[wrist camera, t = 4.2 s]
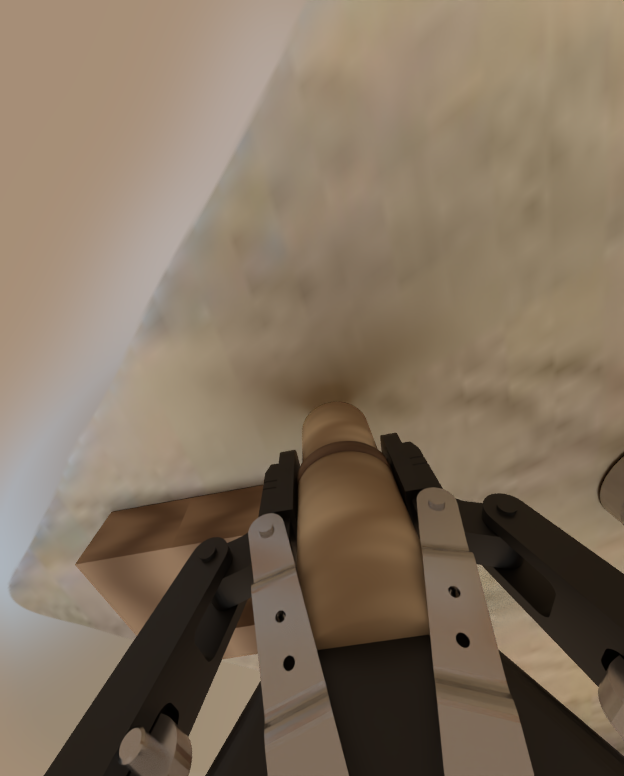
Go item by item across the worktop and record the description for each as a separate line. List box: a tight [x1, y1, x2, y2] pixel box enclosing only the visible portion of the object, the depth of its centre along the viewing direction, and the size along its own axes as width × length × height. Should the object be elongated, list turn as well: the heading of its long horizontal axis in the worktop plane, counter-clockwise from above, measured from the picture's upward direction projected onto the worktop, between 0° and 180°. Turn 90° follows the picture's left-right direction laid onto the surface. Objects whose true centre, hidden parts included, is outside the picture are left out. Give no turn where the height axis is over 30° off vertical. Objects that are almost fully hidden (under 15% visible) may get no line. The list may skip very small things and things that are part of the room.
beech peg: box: [297, 402, 429, 650], centre depth 11 cm, size 4×4×10 cm
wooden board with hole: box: [75, 485, 263, 659], centre depth 23 cm, size 18×14×4 cm
